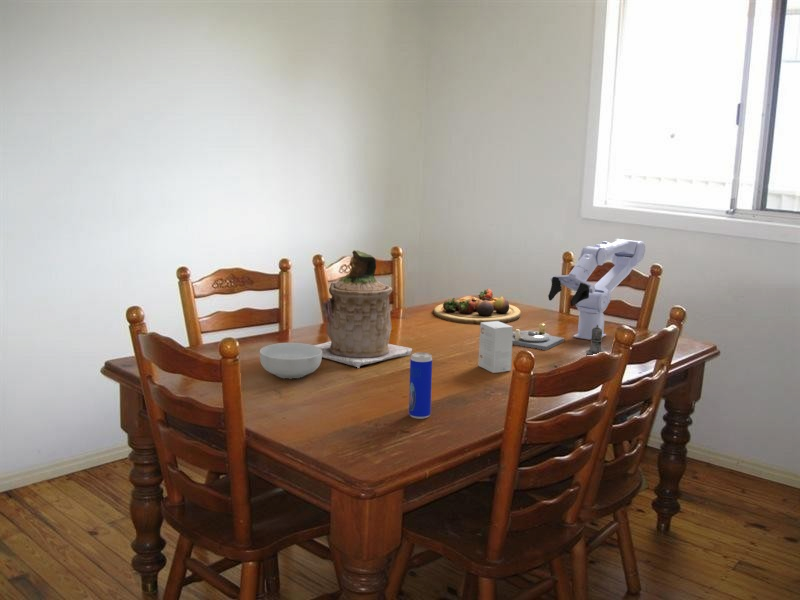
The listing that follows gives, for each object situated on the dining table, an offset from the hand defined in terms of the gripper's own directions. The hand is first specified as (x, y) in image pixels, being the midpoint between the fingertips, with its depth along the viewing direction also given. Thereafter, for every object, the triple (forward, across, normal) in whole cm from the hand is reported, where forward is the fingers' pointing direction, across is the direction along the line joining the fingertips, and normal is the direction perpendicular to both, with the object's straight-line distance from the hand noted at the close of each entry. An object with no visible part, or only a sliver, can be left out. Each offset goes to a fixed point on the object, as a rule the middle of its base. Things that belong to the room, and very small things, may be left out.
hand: (560, 301), depth 264 cm
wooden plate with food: (-8, -43, +30) cm, 53 cm away
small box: (+36, -1, -5) cm, 37 cm away
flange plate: (+7, -9, +13) cm, 17 cm away
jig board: (+8, -8, +14) cm, 18 cm away
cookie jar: (+51, -40, -10) cm, 65 cm away
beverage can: (+75, +6, -32) cm, 82 cm away
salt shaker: (+15, +18, +6) cm, 25 cm away
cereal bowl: (+75, -40, -26) cm, 88 cm away
